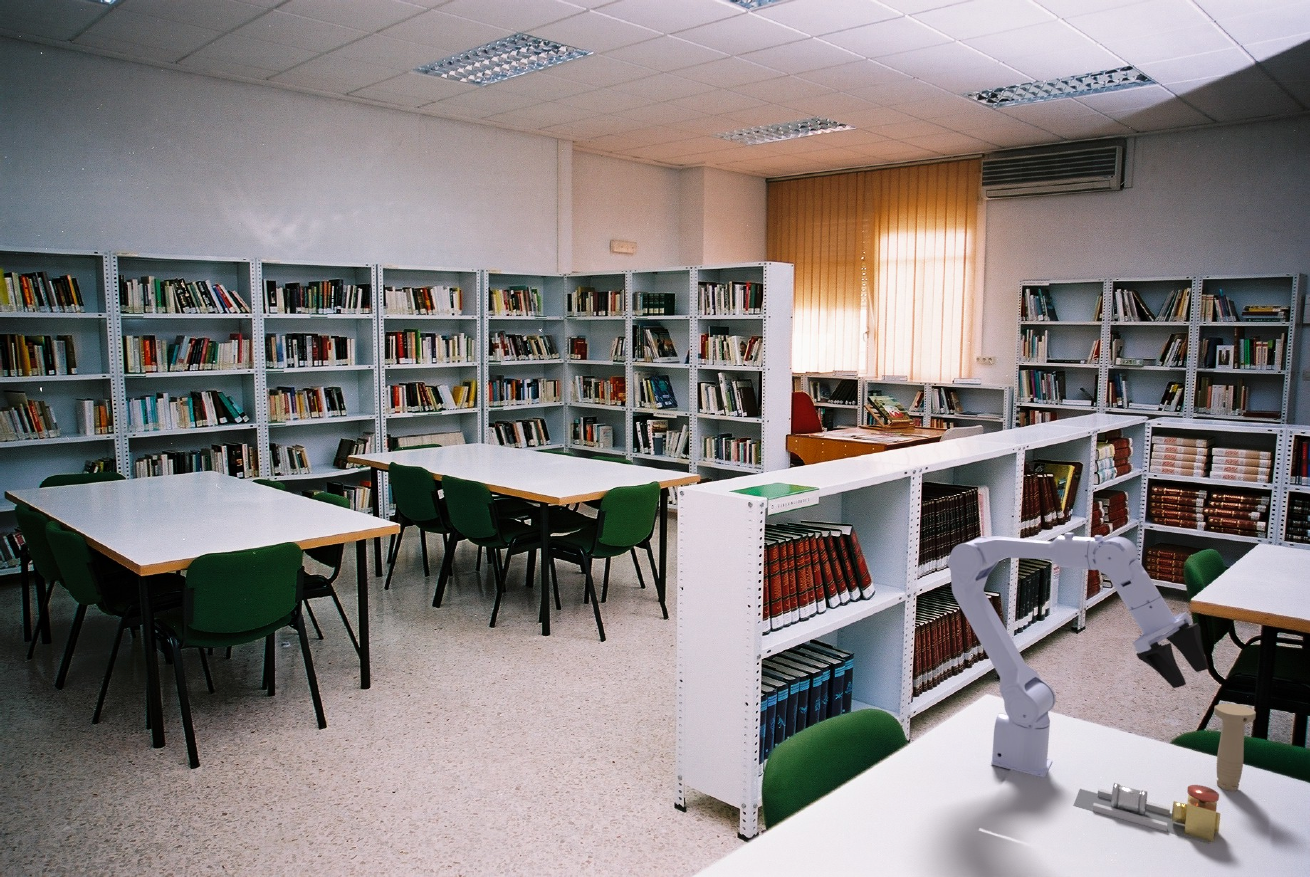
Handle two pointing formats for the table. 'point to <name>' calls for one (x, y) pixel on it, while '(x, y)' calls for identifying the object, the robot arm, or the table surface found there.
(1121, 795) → the coupling
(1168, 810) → the grey railed tray
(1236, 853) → the table surface
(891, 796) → the table surface
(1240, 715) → the handle
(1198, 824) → the valve
